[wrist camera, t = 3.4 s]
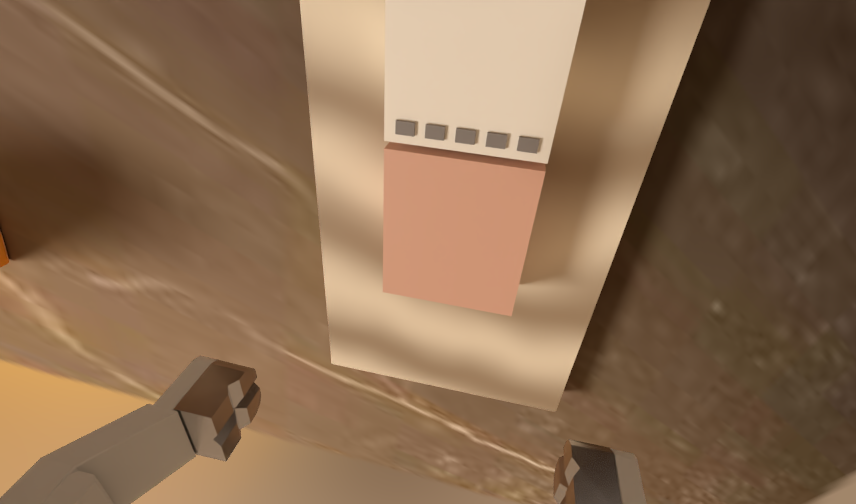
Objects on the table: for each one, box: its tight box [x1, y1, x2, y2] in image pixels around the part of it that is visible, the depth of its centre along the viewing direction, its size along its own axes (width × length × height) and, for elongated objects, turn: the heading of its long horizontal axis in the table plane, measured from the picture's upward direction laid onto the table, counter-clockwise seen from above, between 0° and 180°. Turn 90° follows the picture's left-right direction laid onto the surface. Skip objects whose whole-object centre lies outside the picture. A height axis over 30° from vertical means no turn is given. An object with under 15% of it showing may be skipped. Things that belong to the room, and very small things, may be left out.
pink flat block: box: [383, 142, 546, 316], centre depth 19 cm, size 7×6×2 cm
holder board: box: [300, 0, 711, 412], centre depth 18 cm, size 32×14×2 cm, turn 176°
